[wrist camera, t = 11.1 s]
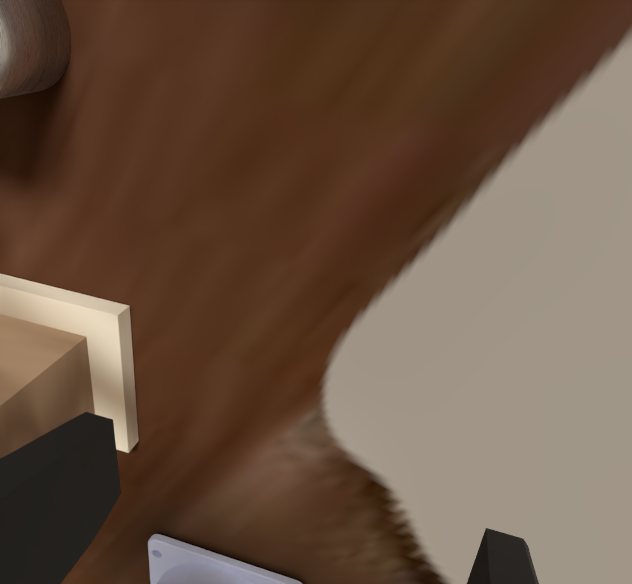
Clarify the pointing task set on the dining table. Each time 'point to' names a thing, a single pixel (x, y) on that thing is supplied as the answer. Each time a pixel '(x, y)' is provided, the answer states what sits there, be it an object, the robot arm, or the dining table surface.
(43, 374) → the walnut block
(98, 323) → the birch pad
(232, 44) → the dining table surface
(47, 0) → the round canister
